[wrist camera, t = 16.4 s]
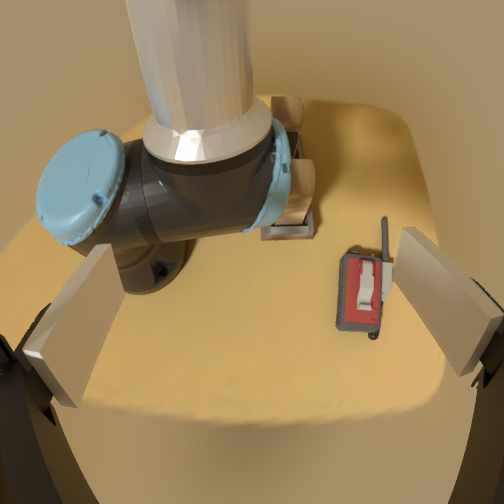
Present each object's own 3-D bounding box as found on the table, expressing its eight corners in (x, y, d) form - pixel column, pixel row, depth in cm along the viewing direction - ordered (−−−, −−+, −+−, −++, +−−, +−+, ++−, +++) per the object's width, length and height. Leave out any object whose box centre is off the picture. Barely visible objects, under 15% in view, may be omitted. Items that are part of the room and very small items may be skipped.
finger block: (274, 227, 45) (282, 186, 33) (272, 193, 47) (278, 145, 35) (300, 226, 45) (317, 186, 33) (296, 193, 47) (310, 146, 35)
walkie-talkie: (384, 340, 42) (386, 222, 48) (397, 339, 37) (397, 211, 43) (332, 337, 42) (339, 214, 48) (340, 337, 38) (346, 202, 44)
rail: (261, 240, 46) (266, 198, 33) (255, 138, 52) (257, 81, 39) (312, 238, 46) (335, 197, 33) (298, 137, 52) (310, 82, 39)
